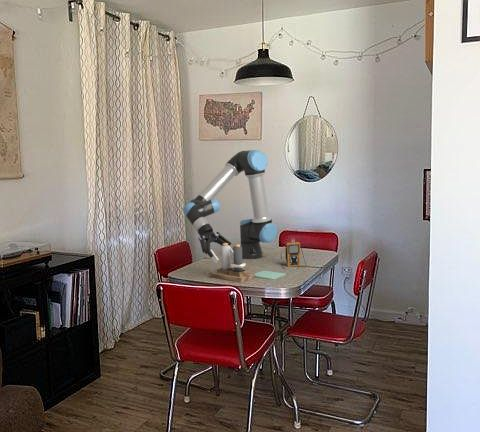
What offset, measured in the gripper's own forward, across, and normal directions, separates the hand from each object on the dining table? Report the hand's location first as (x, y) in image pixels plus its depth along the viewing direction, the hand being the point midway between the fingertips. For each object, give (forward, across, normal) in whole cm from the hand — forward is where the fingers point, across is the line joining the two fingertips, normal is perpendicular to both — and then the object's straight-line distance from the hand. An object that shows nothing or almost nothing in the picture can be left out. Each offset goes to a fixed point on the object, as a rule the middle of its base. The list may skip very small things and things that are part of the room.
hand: (225, 259), depth 248 cm
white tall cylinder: (+5, -1, -6) cm, 7 cm away
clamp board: (+9, -1, -4) cm, 10 cm away
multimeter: (+19, -37, +6) cm, 42 cm away
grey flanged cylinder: (+10, -1, 0) cm, 10 cm away
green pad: (+18, -14, +5) cm, 23 cm away
